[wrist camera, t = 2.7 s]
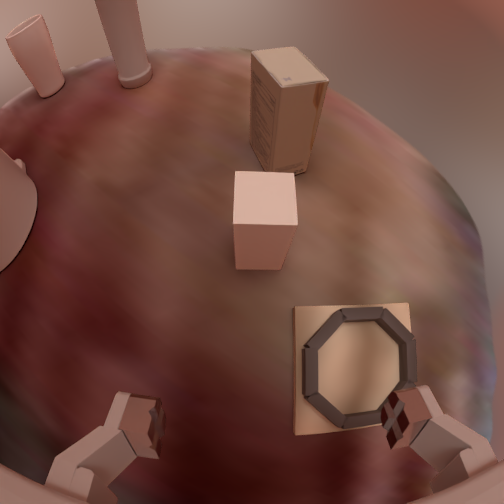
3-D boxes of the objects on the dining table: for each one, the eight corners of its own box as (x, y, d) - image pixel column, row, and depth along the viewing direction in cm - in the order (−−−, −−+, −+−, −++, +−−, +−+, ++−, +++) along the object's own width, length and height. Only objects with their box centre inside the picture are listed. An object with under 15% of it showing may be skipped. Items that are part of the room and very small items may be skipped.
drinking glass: (35, 107, 36) (0, 44, 22) (39, 88, 38) (10, 29, 24) (68, 90, 37) (38, 21, 23) (70, 72, 39) (44, 9, 25)
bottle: (114, 90, 36) (71, -54, 13) (129, 70, 38) (96, -64, 15) (145, 89, 36) (109, -67, 13) (158, 69, 38) (133, -74, 15)
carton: (235, 269, 27) (233, 223, 19) (237, 228, 28) (235, 171, 20) (280, 270, 27) (297, 225, 19) (279, 229, 28) (294, 173, 20)
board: (293, 432, 22) (298, 439, 19) (292, 308, 26) (298, 302, 23) (407, 416, 22) (420, 419, 20) (403, 304, 26) (416, 299, 24)
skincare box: (307, 172, 31) (334, 82, 20) (269, 183, 30) (282, 89, 19) (282, 131, 33) (295, 43, 22) (247, 140, 32) (250, 49, 21)
